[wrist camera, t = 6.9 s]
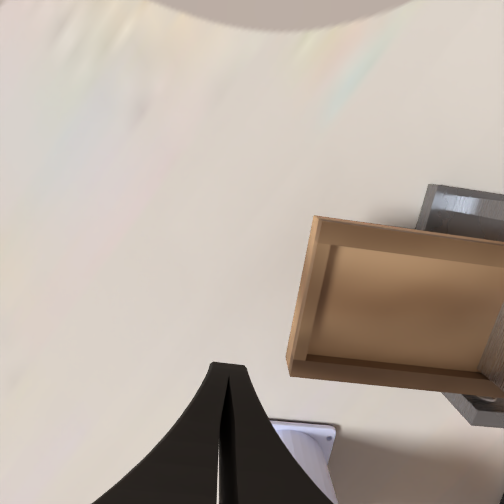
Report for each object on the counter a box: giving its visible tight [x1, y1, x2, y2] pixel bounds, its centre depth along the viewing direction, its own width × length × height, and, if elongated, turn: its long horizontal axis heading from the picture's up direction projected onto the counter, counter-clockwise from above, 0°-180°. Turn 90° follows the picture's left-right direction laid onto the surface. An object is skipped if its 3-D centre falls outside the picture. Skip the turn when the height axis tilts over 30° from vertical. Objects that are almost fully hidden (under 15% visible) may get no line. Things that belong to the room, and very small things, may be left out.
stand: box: [415, 184, 504, 428], centre depth 18 cm, size 13×6×8 cm, turn 172°
